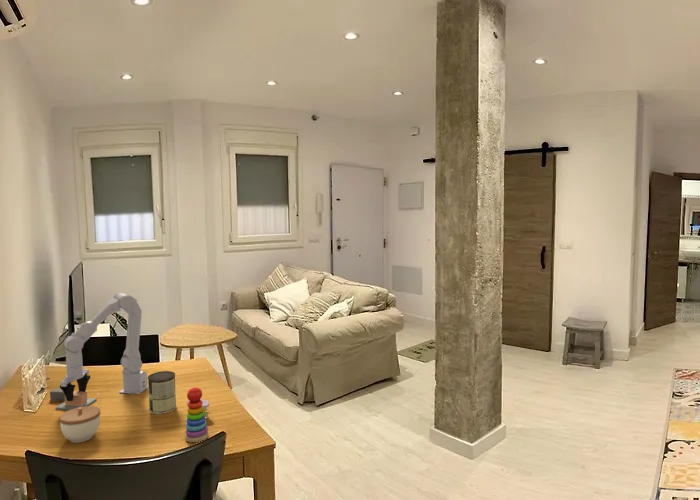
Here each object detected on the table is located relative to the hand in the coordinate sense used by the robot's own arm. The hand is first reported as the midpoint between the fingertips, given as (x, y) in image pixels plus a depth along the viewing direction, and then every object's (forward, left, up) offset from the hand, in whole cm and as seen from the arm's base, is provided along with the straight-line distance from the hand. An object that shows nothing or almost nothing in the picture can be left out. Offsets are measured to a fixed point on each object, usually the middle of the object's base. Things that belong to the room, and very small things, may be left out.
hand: (76, 397), depth 196 cm
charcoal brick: (+10, -5, -3) cm, 12 cm away
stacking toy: (-62, +22, -3) cm, 65 cm away
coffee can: (-38, 0, -3) cm, 38 cm away
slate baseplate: (0, 0, -3) cm, 3 cm away
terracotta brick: (0, 0, -2) cm, 2 cm away
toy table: (-55, +5, -4) cm, 55 cm away
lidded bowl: (-20, +26, -4) cm, 33 cm away
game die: (+30, -15, -4) cm, 33 cm away
